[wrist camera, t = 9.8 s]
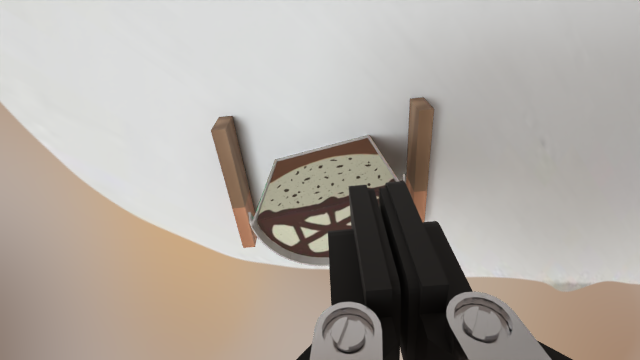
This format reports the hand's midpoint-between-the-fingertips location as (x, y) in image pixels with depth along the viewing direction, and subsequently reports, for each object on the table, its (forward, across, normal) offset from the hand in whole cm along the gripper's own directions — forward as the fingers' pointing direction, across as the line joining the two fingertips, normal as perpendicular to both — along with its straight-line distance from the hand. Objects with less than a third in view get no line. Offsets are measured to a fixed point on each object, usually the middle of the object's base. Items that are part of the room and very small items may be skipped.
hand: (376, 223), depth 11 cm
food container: (+22, +2, +11) cm, 24 cm away
